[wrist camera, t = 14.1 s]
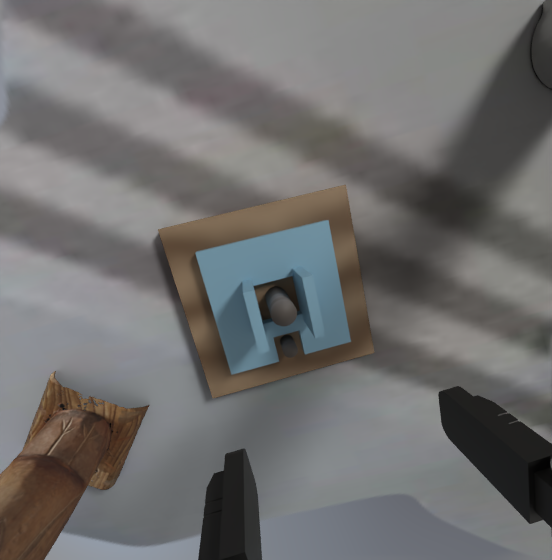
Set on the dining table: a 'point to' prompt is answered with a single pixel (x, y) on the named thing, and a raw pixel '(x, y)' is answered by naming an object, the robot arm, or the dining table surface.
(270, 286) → the post board
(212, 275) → the flange plate
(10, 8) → the dining table surface
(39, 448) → the bird sculpture
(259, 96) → the dining table surface
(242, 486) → the robot arm
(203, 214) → the dining table surface
